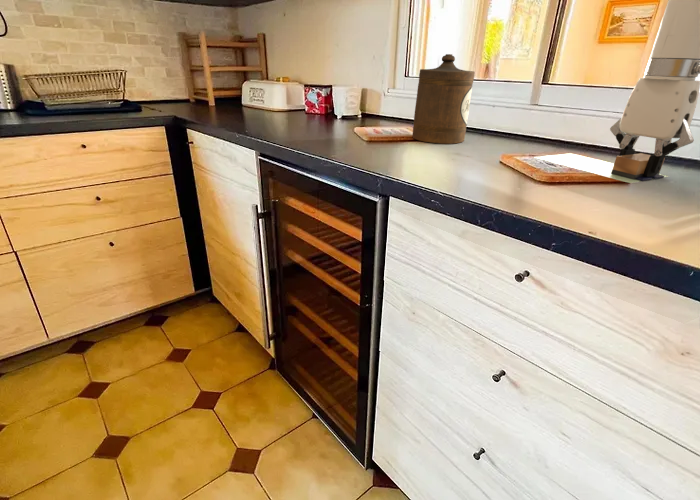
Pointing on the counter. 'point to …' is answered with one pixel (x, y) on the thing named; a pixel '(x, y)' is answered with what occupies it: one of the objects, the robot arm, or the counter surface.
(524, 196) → the counter surface
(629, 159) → the eraser
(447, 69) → the wooden container
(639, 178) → the ink stroke
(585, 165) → the board
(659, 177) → the ink stroke
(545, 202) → the counter surface
